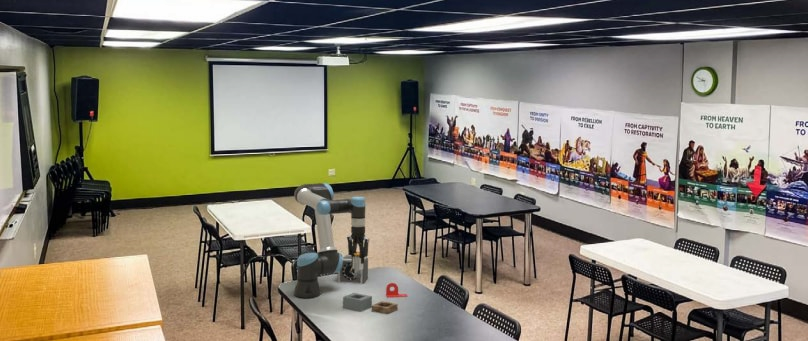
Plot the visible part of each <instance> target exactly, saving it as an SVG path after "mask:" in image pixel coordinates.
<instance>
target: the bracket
mask: <svg viewBox="0 0 808 341" xmlns="http://www.w3.org/2000/svg"><path fill="white" fill-rule="evenodd" d="M392 287H393V290H391V288H392ZM385 292H386V293H385V295H386V296H385V297H386V298H387V299H388V298H407V297H408V294H407V293H404V294H403V293H399V287H398V285H397V284H396V283H395V282H389V283H388V284H387V285H386V286H385Z"/></svg>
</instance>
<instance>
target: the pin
mask: <svg viewBox="0 0 808 341" xmlns="http://www.w3.org/2000/svg"><path fill="white" fill-rule="evenodd" d="M359 258H360V251H356V252H354V277H356V278H360V277H362V270H359Z"/></svg>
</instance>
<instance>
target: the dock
mask: <svg viewBox="0 0 808 341" xmlns="http://www.w3.org/2000/svg"><path fill="white" fill-rule="evenodd" d="M372 305H373V296H372V295H368V294H362V293H357V292H356V293H355V292H352V293H349V294H348V295H347V294H346V295H345V296H342V309H346V310H352V311H357V312H363V311H364V312H365V311H367V310H368V309H372Z"/></svg>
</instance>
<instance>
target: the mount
mask: <svg viewBox="0 0 808 341" xmlns="http://www.w3.org/2000/svg"><path fill="white" fill-rule="evenodd" d="M398 305H399V304H398V303H394V302H390V301H383V300H381V301H379V302H377V303H374V304H372V307H371V312H375V313H381V314H384V315H385V314H386V315H389V314H390V313H394V312H395V311H397V310H398Z"/></svg>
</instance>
